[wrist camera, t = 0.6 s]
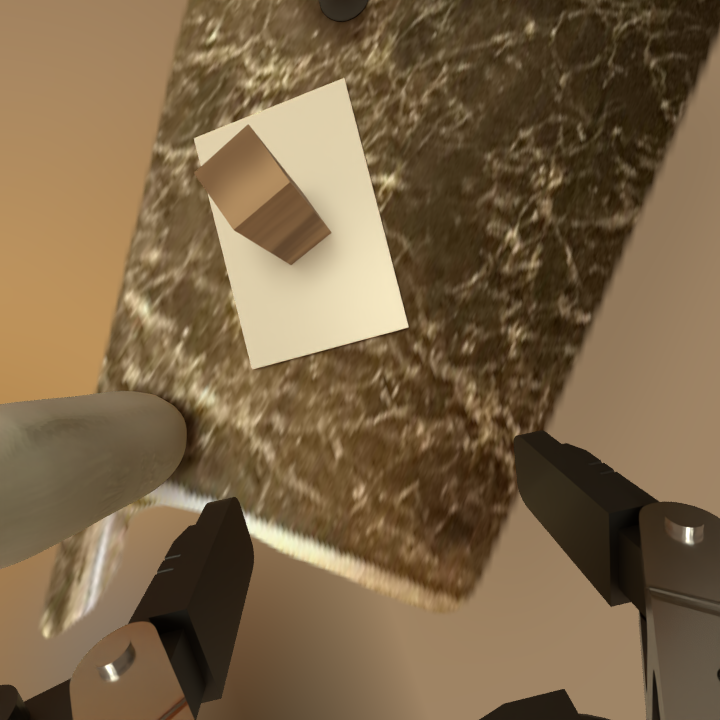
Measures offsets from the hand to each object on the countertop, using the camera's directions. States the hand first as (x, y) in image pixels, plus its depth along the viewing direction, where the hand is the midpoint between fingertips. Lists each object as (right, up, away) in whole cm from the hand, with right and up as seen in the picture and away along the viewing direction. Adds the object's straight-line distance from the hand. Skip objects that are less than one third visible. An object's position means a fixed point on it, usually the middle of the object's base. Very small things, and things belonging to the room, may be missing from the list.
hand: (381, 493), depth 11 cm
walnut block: (-7, +16, +25) cm, 31 cm away
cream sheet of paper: (-7, +16, +26) cm, 32 cm away
